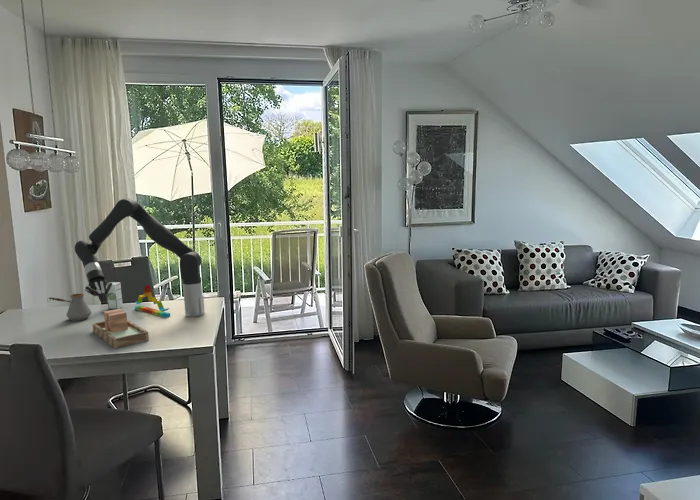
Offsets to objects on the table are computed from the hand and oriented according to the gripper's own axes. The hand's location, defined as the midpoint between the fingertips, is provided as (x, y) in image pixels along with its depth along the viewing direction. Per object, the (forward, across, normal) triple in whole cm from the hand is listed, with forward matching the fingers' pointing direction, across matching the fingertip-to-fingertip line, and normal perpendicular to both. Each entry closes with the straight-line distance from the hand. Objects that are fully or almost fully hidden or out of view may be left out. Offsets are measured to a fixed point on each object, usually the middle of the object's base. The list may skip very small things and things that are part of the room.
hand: (103, 301), depth 242 cm
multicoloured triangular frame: (+3, +26, +16) cm, 31 cm away
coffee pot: (-7, -11, +26) cm, 29 cm away
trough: (+24, 0, -6) cm, 25 cm away
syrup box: (-16, +15, +34) cm, 40 cm away
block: (+20, 0, -5) cm, 20 cm away
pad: (+28, 0, -10) cm, 30 cm away
